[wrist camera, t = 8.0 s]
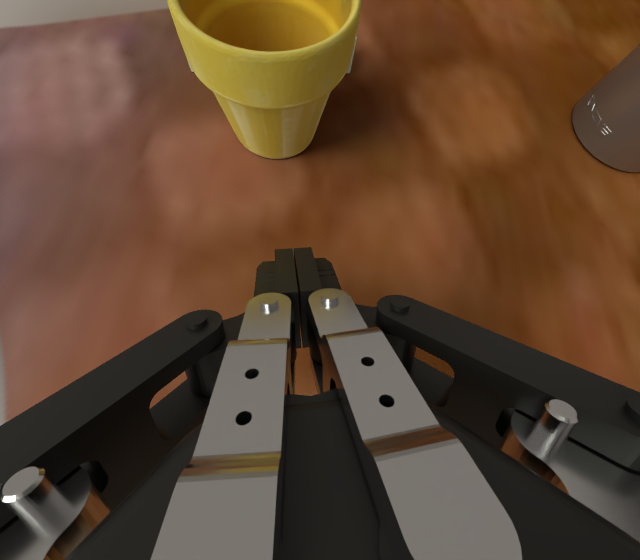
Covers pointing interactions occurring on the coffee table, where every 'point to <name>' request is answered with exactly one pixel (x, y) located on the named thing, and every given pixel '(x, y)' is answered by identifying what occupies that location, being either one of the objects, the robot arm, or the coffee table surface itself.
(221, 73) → the plant pot
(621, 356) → the coffee table surface
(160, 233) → the coffee table surface
